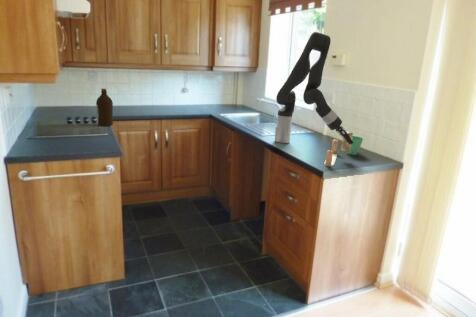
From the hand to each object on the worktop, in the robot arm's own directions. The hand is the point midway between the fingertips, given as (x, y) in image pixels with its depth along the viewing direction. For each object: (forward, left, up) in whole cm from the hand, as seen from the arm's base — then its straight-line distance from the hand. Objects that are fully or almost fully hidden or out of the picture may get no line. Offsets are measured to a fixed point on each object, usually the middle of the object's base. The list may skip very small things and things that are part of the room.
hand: (350, 142), depth 198 cm
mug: (+1, +19, -11) cm, 22 cm away
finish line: (-9, -2, -11) cm, 14 cm away
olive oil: (-164, -1, -11) cm, 164 cm away
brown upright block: (-2, -1, -5) cm, 5 cm away
